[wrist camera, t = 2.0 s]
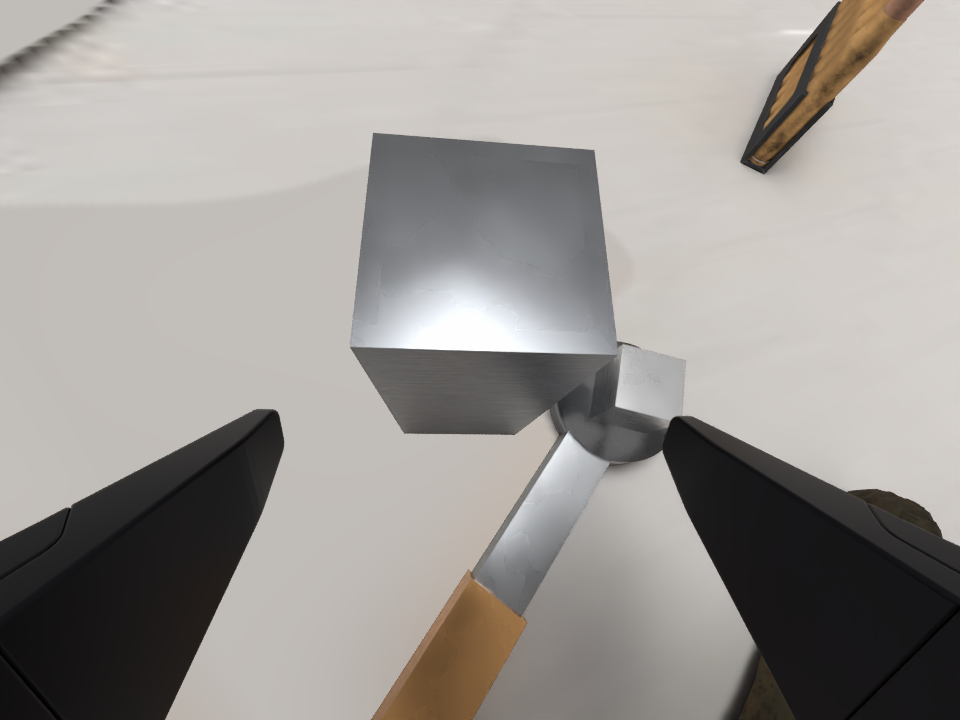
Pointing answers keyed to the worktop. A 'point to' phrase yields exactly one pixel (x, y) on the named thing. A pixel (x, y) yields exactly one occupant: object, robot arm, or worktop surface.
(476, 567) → the ratchet
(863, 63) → the ammunition clip
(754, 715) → the hand tool
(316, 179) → the worktop surface
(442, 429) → the grey metal square prism
